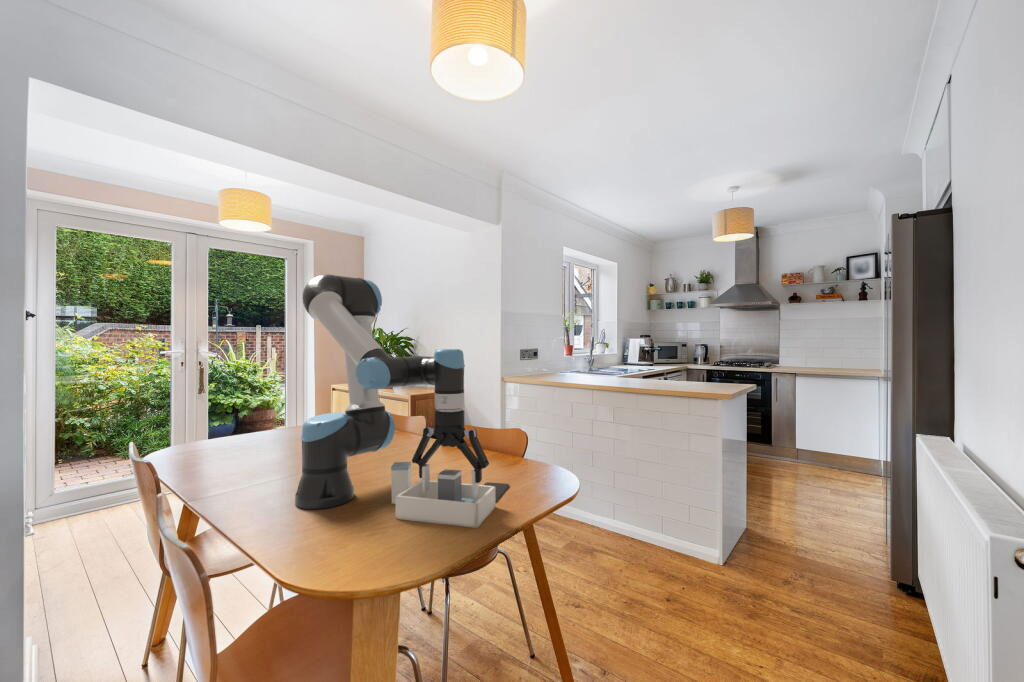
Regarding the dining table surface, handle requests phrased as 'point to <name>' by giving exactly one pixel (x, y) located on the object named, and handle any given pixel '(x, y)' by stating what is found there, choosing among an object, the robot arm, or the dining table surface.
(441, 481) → the grey plug
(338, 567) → the dining table surface
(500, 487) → the smartphone
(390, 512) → the dining table surface
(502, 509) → the dining table surface
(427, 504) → the tray box
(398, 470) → the cream plug
